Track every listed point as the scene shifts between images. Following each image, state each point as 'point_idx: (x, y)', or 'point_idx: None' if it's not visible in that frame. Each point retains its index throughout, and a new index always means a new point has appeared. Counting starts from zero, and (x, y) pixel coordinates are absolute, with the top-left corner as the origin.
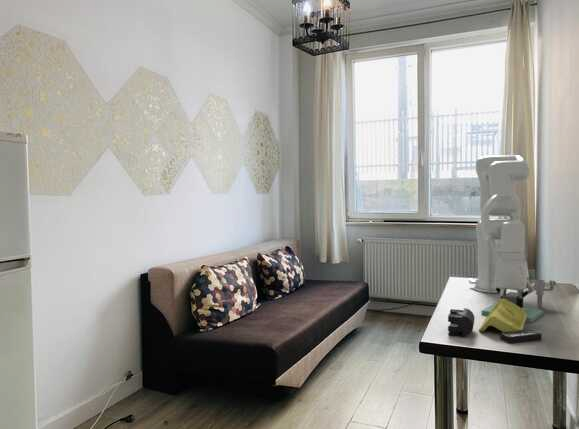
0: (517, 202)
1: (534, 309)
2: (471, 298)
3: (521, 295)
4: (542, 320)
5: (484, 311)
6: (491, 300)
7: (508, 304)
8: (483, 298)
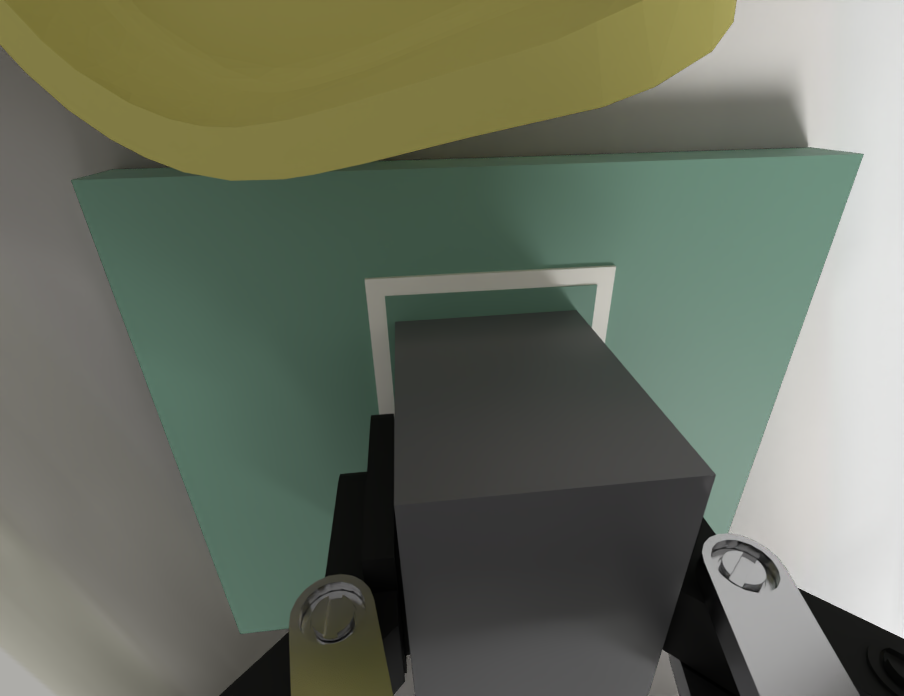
0: None
1: None
2: None
3: (306, 659)
4: (120, 410)
5: (810, 152)
6: None
7: (427, 55)
8: None
